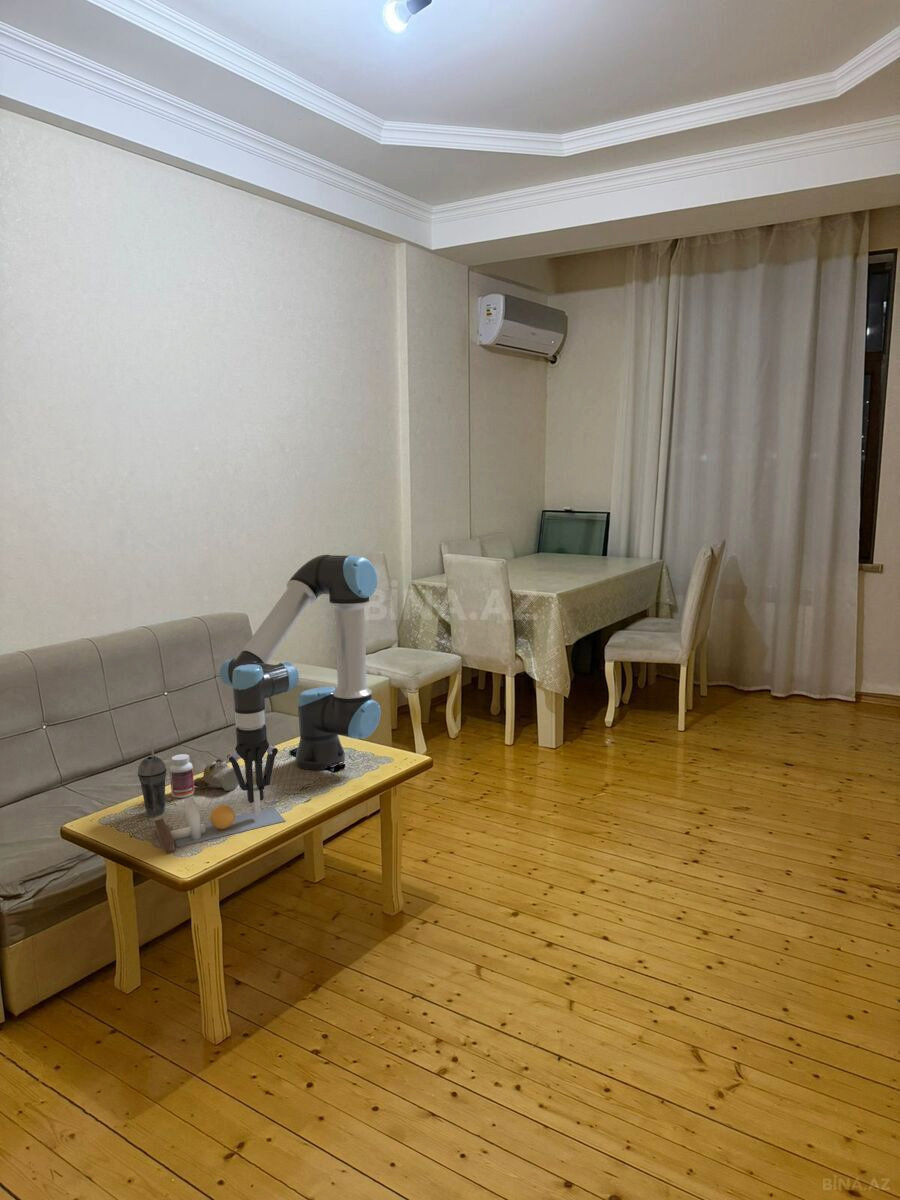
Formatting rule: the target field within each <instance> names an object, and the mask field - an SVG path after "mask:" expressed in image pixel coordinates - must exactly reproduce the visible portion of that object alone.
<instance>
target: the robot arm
mask: <svg viewBox="0 0 900 1200" xmlns="http://www.w3.org/2000/svg"><path fill="white" fill-rule="evenodd" d="M377 586H378V575H377V571H376V568H375V566H374V564H373V563H371V561H370V560H369V559H368V558H365V557H362V556H357V555H335V554H333V555H331V554H321V555H317V556H316V557H314V558H312V559H309V560H308V561H307V562H306V563H304V564H303V565H302V566H301V567H300V568H299V569H297V571H296V572H295V573H294V574H293V575H292V576H291V578H290V579H289V580H288V582H287V583H286V588H287V589H286V590H285V592H284V593H283V595H281V597H280V599H279V600H277V602H276V604H275V605H274V606H273V607H272V609H271V611H270V612H269V613H268V615H267V616H266V617H265V619H264V620H263V621H262V623H261V624H260V626H259V627H258V628H257V630H256V631H255V633H254V634H253V635H252V637H251V638H250V639H249V641H248V642H247V643H246V645H245V646H244V648H243V649H242V650H241V652H240V653H239V654H238V655H237V658H233V657H232V658H229V659H227V660H224V662H223V663H222V664H221V666H220V668H219V678H220V680H221V682H222V683H223V684H224V685H226V686H230V687H232V691H233V693H232V695H233V704H234V717H235V720H234V721H235V726H236V729H235V735H236V736H235V737H236V747H235V749H234V752H233V753H231V754H227V756H226V758H227V760H228V761H229V763H231V765H232V768H233V769H234V772H235V775H236V778H237V781H238V784H239V785H238V786H239V788H240V789H241V791H246V792H247V800H248V802H249V803H250V804H251V809H252V811H251V812H253V813H254V814H255V815H259V814H261V810H262V808H261V801H264V789H265V787H267V786H270V785H271V780H272V776H273V771H274V770H273V768H274V763H275V758H276V756H277V754H278V753H279V749H278V748H277V747H276V746H274V745H273V746H272V745H270V743H269V741H268V738H267V737H268V736H267V735H268V734H267V725H266V723H267V720H266V718H267V717H266V701H265V699H268V698H271V697H273V696H274V697H275V696H277V695H279V694H280V695H281V694H283V693H287V692H289V691H291V690H293V689H294V688H296V687H297V685H298V683H299V681H300V678H299V671H298V669H297V667H296V666H295V665H294V664H292V663H291V662H279V663H278V664H270V663H268V662H269V661H270V659H272V657H273V655H274V654H275V653H276V652H277V649H278V647H280V645H281V644H282V642H283V641H284V640H285V638H286V637H287V635H288V634H289V632H290V631H291V630H292V628H293V627H294V625H295V624H296V623H297V621H298V620H299V618H300V617H301V616H302V614H303V612H304V611H305V610H306V608H307V607H308V606H309V605H310V604H311V605H312V604H313V603H315V602H316V600H317V599H318V598H319V597H320V596H323V595H328V596H329V597H328V598H329V604H331V606H332V607H333V608H334V614H335V615H334V617H335V618H334V621H335V645H336V646H335V647H336V648H335V649H336V676H337V677H336V678H337V679H336V681H337V682H336V683H337V686H336V687H337V688H335V687H334V686H320V687H315V688H310V689H307V690H304V691H302V692H301V693H299V695H298V698H297V701H298V702H297V703H298V705H297V710H298V712H297V713H298V724H299V742H298V746H297V749H296V754H295V765H296V766H297V767H298V768H300V769H302V770H303V769H304V770H308V771H322V770H326V769H325V768H326V767H327V766H328V765H330V764H332V763H335V762H343V763H344V762H345V761H346V756H345V755H346V754H345V750H344V747H343V746H342V745H343V744H342V742H341V740H340V738H339V735H340V736H343V737H349V738H350V739H351V738H352V739H355V738H356V739H366V738H368V737H370V736H371V735H373V733H374V732H375V731H376V729H377V727H378V725H379V724H380V719H381V713H382V711H381V706H380V704H379V703H378V702H377V701H376V700H374V699H373V691H372V690H371V689H370V688H369V687H368V684H367V683H368V682H367V650H366V649H367V648H366V621H365V620H366V618H365V617H366V615H365V607H366V606H367V605H368V604H369V603H370V597H371V596H372V595H374V593H375V592H376V588H377ZM266 753H267V755H266ZM265 755H266V760H265V761H266V762H265V767H264V773H263V758H264V756H265ZM239 757H240V758H241V759H242V761H244V773H245V779H244V776H243V774H242V770H241V767H240V764H239V762H238V761H239ZM253 762H254V769H255V770H254V771H255V772H254V773H255V783H256V786H255V787H254V773H253Z"/></svg>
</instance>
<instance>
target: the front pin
mask: <svg viewBox="0 0 900 1200" xmlns="http://www.w3.org/2000/svg"><path fill="white" fill-rule="evenodd" d="M204 823H205V822H203V824H202V823H200V826H201V834H202V833H206V829H205V824H204ZM185 827H186V828H185ZM185 827H182V828H177V830H176V829H172V830H173V831H172V830H169V831H170V833H171V835H172V837H173V839H174V840H177V839H181V838H185V837H189V836H191V829H190V827H187V826H185Z"/></svg>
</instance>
